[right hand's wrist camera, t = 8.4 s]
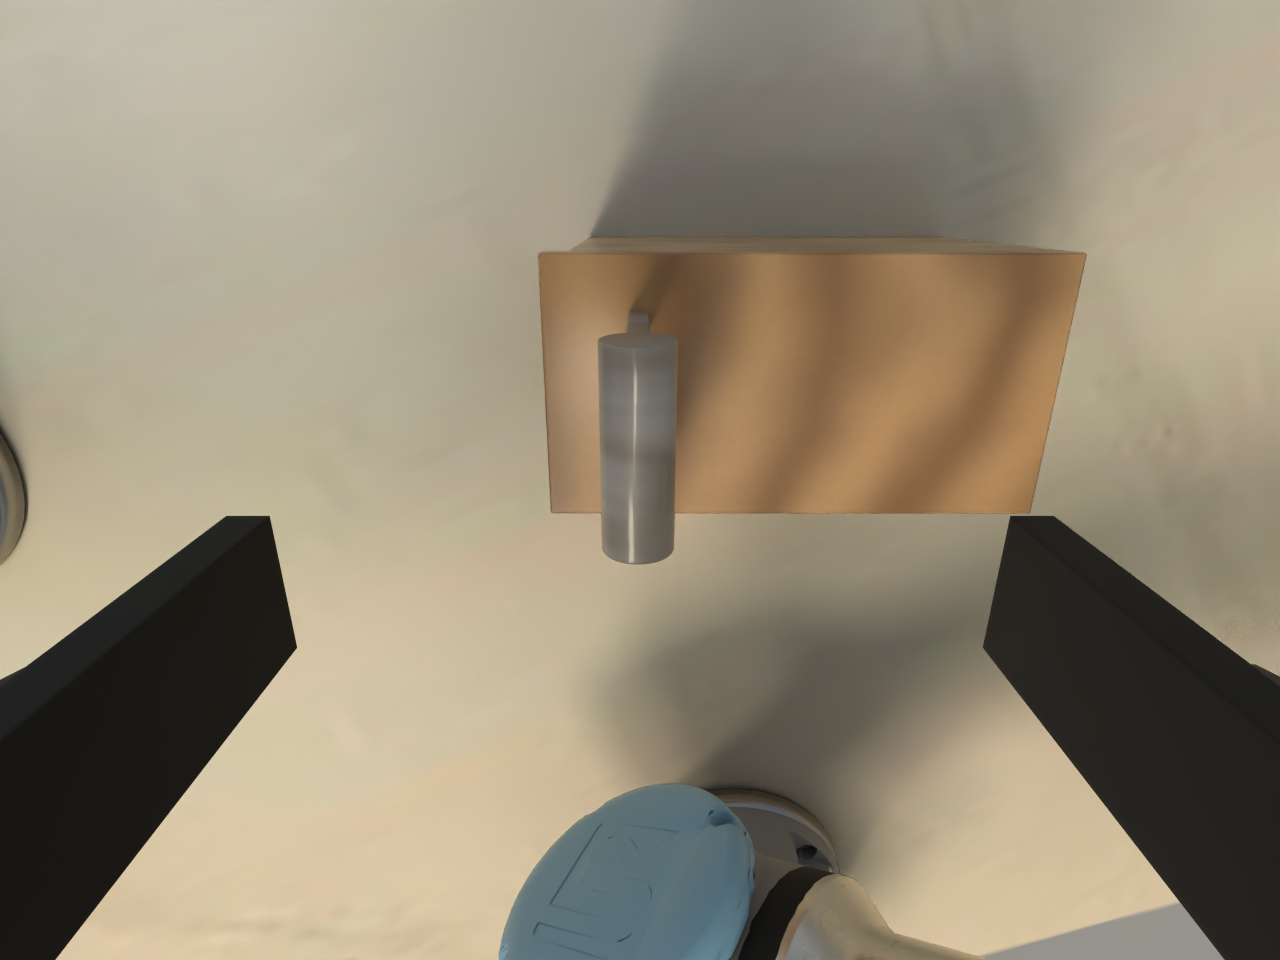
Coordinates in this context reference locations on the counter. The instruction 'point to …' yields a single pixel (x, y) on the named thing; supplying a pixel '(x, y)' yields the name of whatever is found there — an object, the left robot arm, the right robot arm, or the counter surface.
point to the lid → (797, 382)
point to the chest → (793, 244)
